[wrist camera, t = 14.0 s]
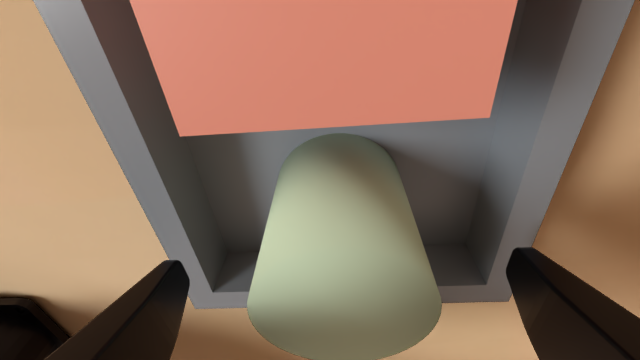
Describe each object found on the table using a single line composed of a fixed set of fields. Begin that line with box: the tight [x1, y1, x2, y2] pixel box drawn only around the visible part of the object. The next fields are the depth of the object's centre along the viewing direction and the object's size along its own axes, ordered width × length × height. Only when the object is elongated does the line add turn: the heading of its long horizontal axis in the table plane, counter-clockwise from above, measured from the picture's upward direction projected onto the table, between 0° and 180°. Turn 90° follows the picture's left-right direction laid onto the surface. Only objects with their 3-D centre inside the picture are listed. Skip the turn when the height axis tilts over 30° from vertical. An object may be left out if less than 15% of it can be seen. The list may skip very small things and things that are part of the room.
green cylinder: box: [247, 133, 442, 360], centre depth 9 cm, size 4×4×5 cm
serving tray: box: [33, 0, 635, 309], centre depth 9 cm, size 15×12×3 cm
